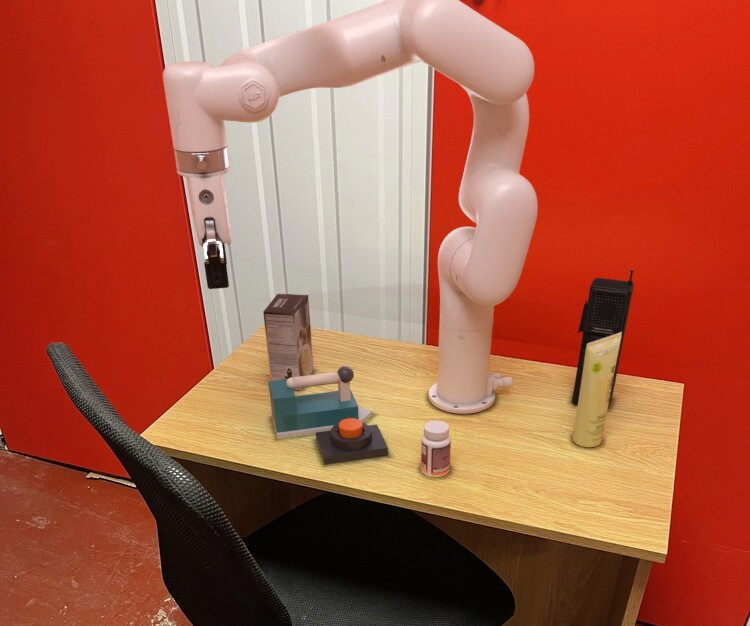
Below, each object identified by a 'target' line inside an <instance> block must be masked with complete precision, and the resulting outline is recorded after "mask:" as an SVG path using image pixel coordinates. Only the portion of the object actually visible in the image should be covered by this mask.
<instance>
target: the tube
mask: <svg viewBox="0 0 750 626" xmlns="http://www.w3.org/2000/svg"><path fill="white" fill-rule="evenodd" d="M621 336H622V332H620V333H617V334H614V335H612V336H609V337H606V338H603V339H600V340H597V341H594V342H590V343H587V346H586V352H585V359H584V367H583V374H582V381H581V387H580V394H579V401H578V404H577V408H576V413H575V420H574V426H573V433H572V441H573V442H574V443H575V444H576V445H578V446H579V447H582V448H596V447H598V446H600V445H601V443H602V442H603V437H604V431H605V426H606V425H605V424H606V420H607V416H608V410H609V409H608V405H609V400H610V394H611V389H612V384H613V378H614V373H615V367H616V362H617V357H618V352H619V347H620V342H621Z"/></svg>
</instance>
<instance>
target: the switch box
mask: <svg viewBox="0 0 750 626" xmlns="http://www.w3.org/2000/svg"><path fill="white" fill-rule="evenodd" d="M362 428H363V433H362V435H361V436H359V437H357V438H344V437H342V436H340V434H339V423H338V424H336V425H334V426H333V427H332V429H331V430H330V431H323V432H316V434H315V441H316V444H317V448H318V450H319V453H320V456H321V459H322V462H323V465H324V466H326V465H334V464H335V465H336V464H341V463H348V462H355V461H363V460H369V459H376V458H385V457H388V456H389V447H388V445H387V443H386V440H385V439H384V436H383V434H382V432H381V430H380V428H379V426H378V424H377V423H375V424H367V423H365V422H364V423H363V422H362Z"/></svg>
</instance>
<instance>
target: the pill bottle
mask: <svg viewBox="0 0 750 626" xmlns="http://www.w3.org/2000/svg"><path fill="white" fill-rule="evenodd" d="M449 434H450V425H449V423H448V422H445V421H443V420H439V419H438V420H437V419H435V420H430V421H427V422H426V423H424V426H423V435H422V436H421V438H420V471H421V472H422V474H424V475H425V476H426V477H430V478H442V477H444V476H446V475H447V474H449V471H450V466H451V447H452V446H451V445H452V439H451V436H450V435H449Z"/></svg>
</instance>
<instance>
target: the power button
mask: <svg viewBox="0 0 750 626" xmlns="http://www.w3.org/2000/svg"><path fill="white" fill-rule="evenodd" d="M362 433H363V428H362V422H361V421H360V420H358V419H354V418H348V419H344V420H342V421H341V422H340V423H339V434H340V436H342V437H344V438H357V437H359V436H361V435H362Z"/></svg>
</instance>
